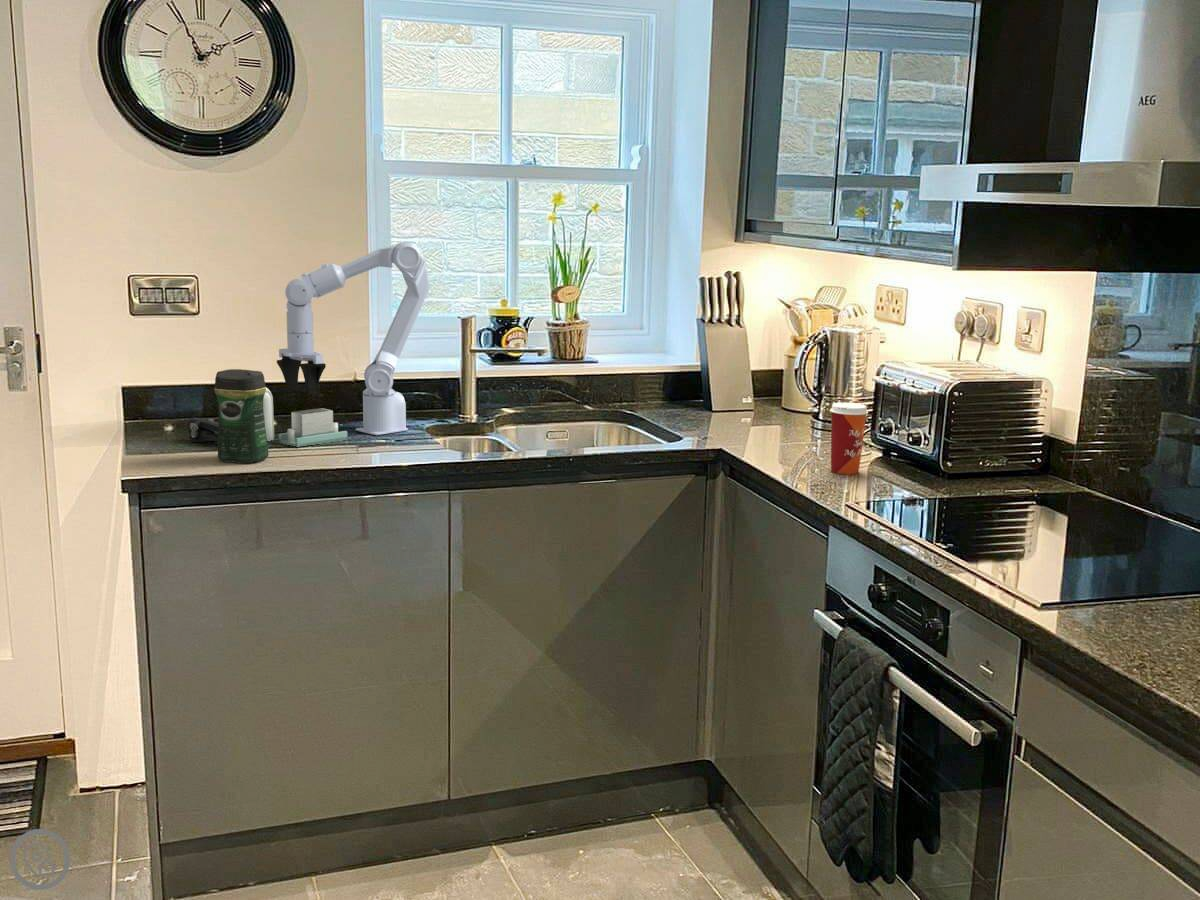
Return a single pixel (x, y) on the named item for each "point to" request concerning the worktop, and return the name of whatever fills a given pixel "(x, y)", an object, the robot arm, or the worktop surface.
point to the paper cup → (847, 437)
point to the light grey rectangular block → (312, 422)
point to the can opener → (203, 430)
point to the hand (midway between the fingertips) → (301, 392)
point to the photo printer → (268, 414)
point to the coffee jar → (241, 416)
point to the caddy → (313, 437)
